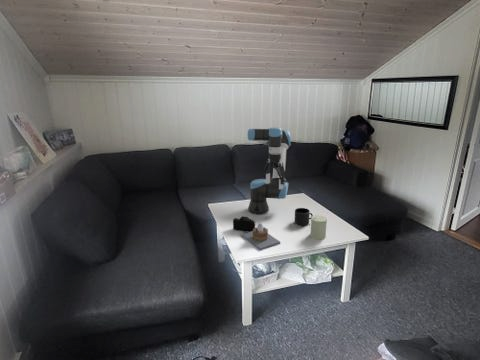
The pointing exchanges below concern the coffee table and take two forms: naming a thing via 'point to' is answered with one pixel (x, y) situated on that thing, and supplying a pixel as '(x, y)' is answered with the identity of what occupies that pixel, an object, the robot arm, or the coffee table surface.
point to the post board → (261, 244)
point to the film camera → (243, 224)
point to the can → (318, 227)
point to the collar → (260, 234)
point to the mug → (302, 216)
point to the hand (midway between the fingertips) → (274, 186)
